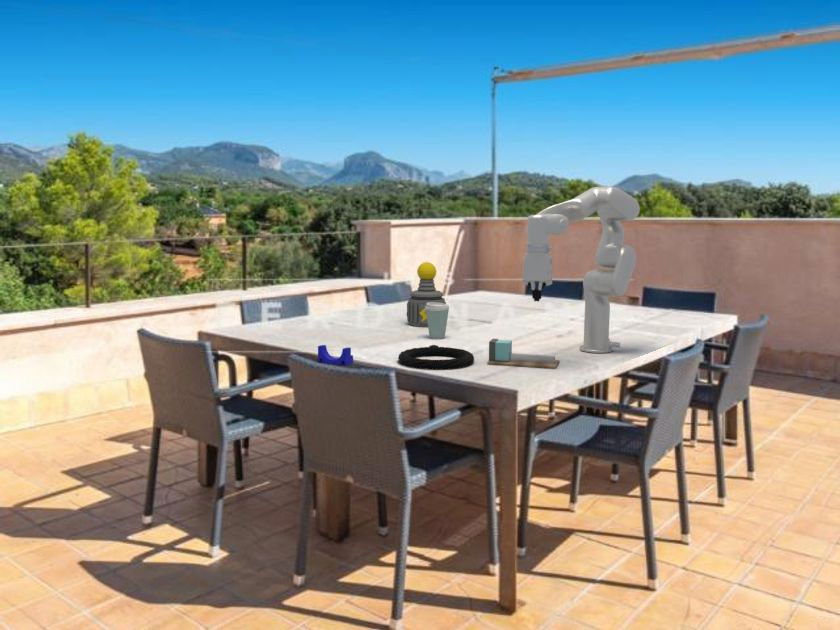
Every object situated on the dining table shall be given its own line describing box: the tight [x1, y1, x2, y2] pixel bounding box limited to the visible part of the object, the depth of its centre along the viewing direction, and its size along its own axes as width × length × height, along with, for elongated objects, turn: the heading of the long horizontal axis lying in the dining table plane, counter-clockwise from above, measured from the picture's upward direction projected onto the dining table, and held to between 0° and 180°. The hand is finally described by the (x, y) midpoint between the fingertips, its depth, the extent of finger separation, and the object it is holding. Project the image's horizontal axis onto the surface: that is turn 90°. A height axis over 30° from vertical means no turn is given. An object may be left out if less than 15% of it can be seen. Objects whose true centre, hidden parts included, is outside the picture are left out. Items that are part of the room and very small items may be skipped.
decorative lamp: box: [406, 261, 447, 328], centre depth 352 cm, size 19×19×30 cm
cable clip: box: [317, 344, 354, 366], centre depth 263 cm, size 12×4×6 cm, turn 63°
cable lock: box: [397, 344, 475, 370], centre depth 267 cm, size 28×4×30 cm
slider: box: [495, 339, 513, 361], centre depth 266 cm, size 5×6×6 cm
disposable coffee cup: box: [425, 302, 450, 340], centre depth 315 cm, size 11×11×15 cm
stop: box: [488, 338, 499, 361], centre depth 267 cm, size 2×7×7 cm, turn 163°
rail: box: [509, 352, 556, 364], centre depth 264 cm, size 21×2×2 cm, turn 73°
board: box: [486, 359, 560, 370], centre depth 264 cm, size 24×12×1 cm, turn 73°
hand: (536, 300), depth 265 cm, fingers closed
